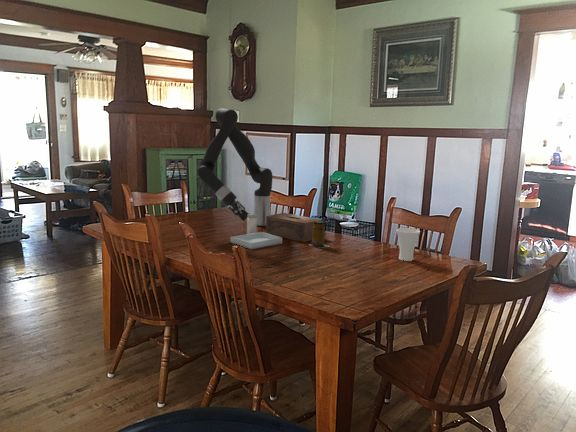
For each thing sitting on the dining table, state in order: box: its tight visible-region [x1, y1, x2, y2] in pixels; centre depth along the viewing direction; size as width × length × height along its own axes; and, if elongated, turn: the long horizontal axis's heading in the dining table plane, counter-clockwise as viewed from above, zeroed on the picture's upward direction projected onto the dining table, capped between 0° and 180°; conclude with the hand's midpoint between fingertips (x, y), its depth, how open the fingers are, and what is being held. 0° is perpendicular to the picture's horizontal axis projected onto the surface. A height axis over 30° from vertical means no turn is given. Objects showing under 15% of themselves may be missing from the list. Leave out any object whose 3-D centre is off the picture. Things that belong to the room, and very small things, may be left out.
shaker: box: [246, 213, 258, 234], centre depth 263 cm, size 5×5×11 cm
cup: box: [396, 227, 421, 262], centre depth 224 cm, size 10×10×14 cm
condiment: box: [308, 220, 331, 249], centre depth 244 cm, size 7×8×12 cm
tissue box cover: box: [265, 212, 322, 243], centre depth 264 cm, size 26×14×10 cm, turn 52°
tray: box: [230, 231, 283, 250], centre depth 245 cm, size 20×16×3 cm
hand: (246, 218), depth 262 cm, fingers open, 8 cm apart
